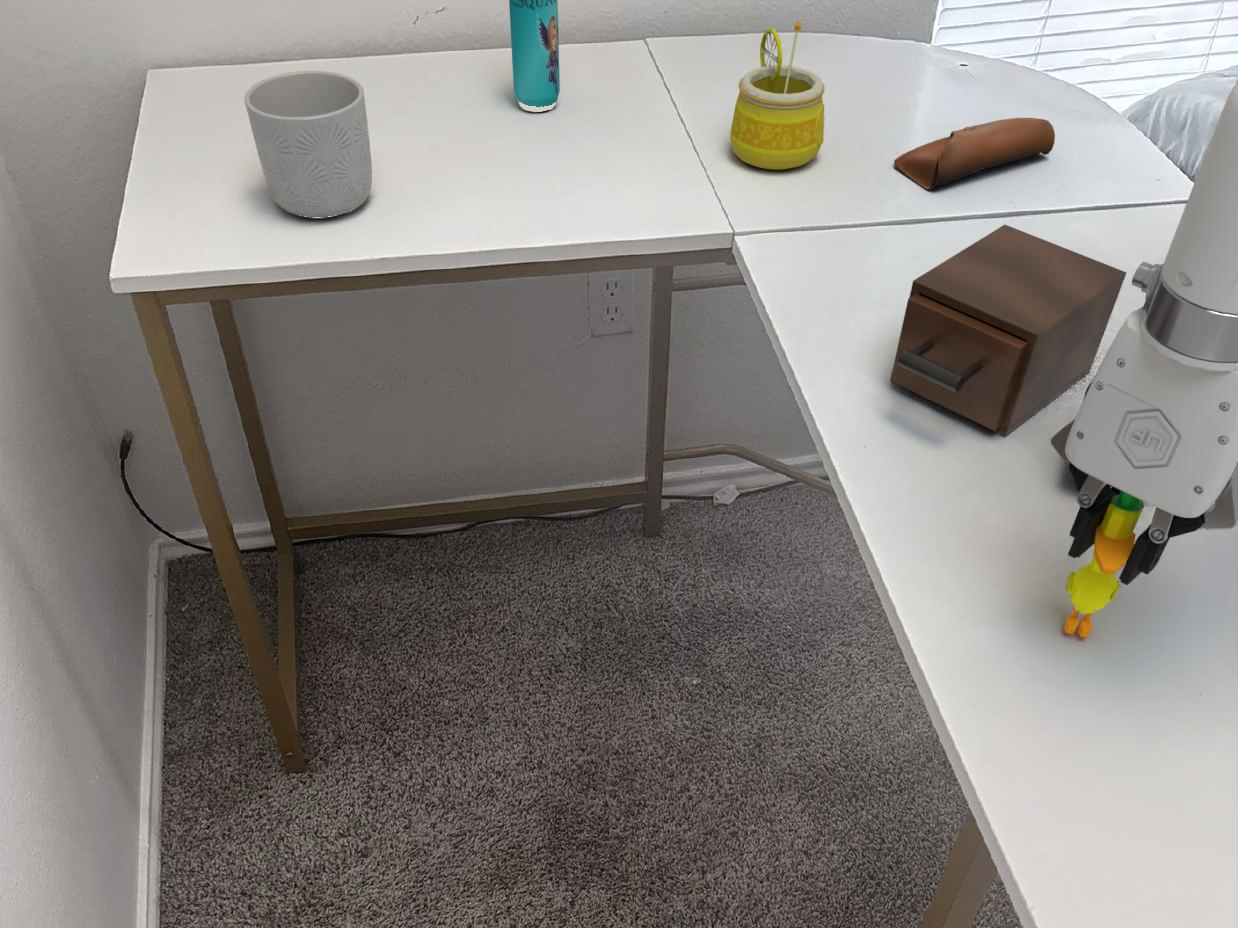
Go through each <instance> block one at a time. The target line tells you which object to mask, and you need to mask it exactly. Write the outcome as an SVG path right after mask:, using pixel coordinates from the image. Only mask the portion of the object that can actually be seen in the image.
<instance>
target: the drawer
mask: <svg viewBox="0 0 1238 928" xmlns="http://www.w3.org/2000/svg"><path fill="white" fill-rule="evenodd" d="M909 297H910V296H909ZM909 297H908V299H907V303H906V306H905V312H904V315H903V316H904V317H903V320H902V325H901V329H900V333H899V338H898V343H897V348H896V353H895V356H894V361H893V364H892V365H893V366H892V370H891V375H890V379H889V380H890V382H891V381H893V382H895V383H897V384H899V385H901V386H903V387H905V388H907V389H909V390H908V391H910V390H911V391H910V392H912V391H913V392H912V393H914V392H916V393H918V394H920V395H922V396H924V397H926V398H928V399H930V400H932V401H934V402H936V403H938V404H940V405H942V406H941V407H943V406H944V407H943V408H945V407H946V408H945V409H947V408H949V409H951V410H953V411H955V412H957V413H959V414H961V415H963V416H965V417H967V418H969V419H971V420H973V421H975V422H974V423H976V422H977V423H976V424H978V423H979V424H978V425H980V424H982V425H984V426H986V427H988V428H990V429H992V430H994V431H995V430H996V429H998V428H999V427H1000V426H1002V424H1003V420H1004V417H1005V414H1006V411H1007V408H1008V405H1009V402H1010V398H1011V395H1012V392H1013V389H1014V386H1015V383H1016V380H1017V376H1018V373H1019V370H1020V367H1021V364H1022V361H1023V358H1024V354H1025V351H1026V348H1027V345H1028V343H1027V340H1025V339H1023V338H1021V337H1018V336H1016V335H1014V334H1012V333H1009V332H1007V331H1005V330H1002V329H1000V328H998V327H996V326H993V325H991V324H989V323H987V322H984V321H982V320H980V319H977V318H975V317H973V316H971V315H968V314H966V313H964V312H961V311H959V310H957V309H955V308H952V307H950V306H948V305H946V304H943V303H941V302H939V301H936V300H934V299H932V298H930V299H927V298H925V297H923V296H921V295H918V294H915V295H913V296H911V297H910V298H909ZM893 382H892V383H893ZM895 383H894V384H895ZM897 384H896V385H897ZM899 385H898V386H899ZM901 386H900V387H901ZM903 387H902V388H903ZM905 388H904V389H905ZM907 389H906V390H907ZM916 393H915V394H916ZM918 394H917V395H918ZM920 395H919V396H920ZM922 396H921V397H922ZM924 397H923V398H924ZM926 398H925V399H926ZM928 399H927V400H928ZM930 400H929V401H930ZM932 401H931V402H932ZM934 402H933V403H934ZM936 403H935V404H936ZM938 404H937V405H938ZM940 405H939V406H940ZM949 409H948V410H949ZM951 410H950V411H951ZM953 411H952V412H953ZM955 412H954V413H955ZM957 413H956V414H957ZM959 414H958V415H959ZM961 415H960V416H961ZM963 416H962V417H963ZM965 417H964V418H965ZM967 418H966V419H967ZM969 419H968V420H969ZM971 420H970V421H971ZM973 421H972V422H973ZM982 425H981V426H982ZM984 426H983V427H984ZM986 427H985V428H986ZM988 428H987V429H988ZM990 429H989V430H990ZM992 430H991V431H992ZM994 431H993V432H994Z"/></svg>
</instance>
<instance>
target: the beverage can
mask: <svg viewBox="0 0 1238 928" xmlns="http://www.w3.org/2000/svg"><path fill="white" fill-rule="evenodd" d="M508 5H509V8H508V9H509V21H510V22H509V24H510V44H511V45H510V46H511V60H512V61H511V62H512V80H513V93H514V95H515V99H516V101H517V100H518V101H519V102H521V103H523V104H525V105H528V106H536V107H541V106H542V107H544V106H549V105H552V104H553V103H555V102H556V101H557V102H558V98H559V95H560V92H561V87H560V86H561V84H560V83H561V81H560V45H559V6H558V0H508ZM518 101H517V102H518ZM557 102H556V103H557Z"/></svg>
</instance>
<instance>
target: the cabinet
mask: <svg viewBox="0 0 1238 928" xmlns="http://www.w3.org/2000/svg"><path fill="white" fill-rule="evenodd" d="M1126 276H1127V272H1126V271H1124V270H1121V269H1119V268H1116V267H1114V266H1111V265H1109V264H1106V263H1104V262H1101V261H1099V260H1096V259H1094V258H1091V257H1089V256H1086V255H1083V254H1081V253H1078V252H1076V251H1074V250H1071V249H1068V248H1066V247H1063V246H1061V245H1058V244H1057V243H1053V242H1050V241H1048V240H1046V239H1043V238H1041V237H1037V236H1036V235H1033V234H1030V233H1028V232H1026V231H1023V230H1020V229H1018V228H1016V227H1013V226H1010V225H1007V224H1003V225H1001V226H1000V227H998V228H996V229H995V230H993V231H991V232H990V233H988V234H987V235H985V236H984V237H982V238H980V239H979V240H977V241H976V242H974V243H972V244H970V245H969V246H967V247H965V248H964V249H962V250H960V251H959V252H957V253H956V254H954V255H953V256H951V257H949V258H948V259H946V260H945V261H943V262H941V263H940V264H937V265H936V266H935V267H933V268H931V269H930V270H928V271H926V272H925V273H923V274H921V275H920V276H918V277H917V278H915V279H913V280H912V284H911V289H910V293H909V296H908V298H910V297H911V296H913V295H915V294H918V295H921V296H923V297H925V298H927V299H930V298H932V299H934V300H936V301H939V302H941V303H943V304H946V305H948V306H950V307H952V308H955V309H957V310H959V311H961V312H964V313H966V314H968V315H971V316H973V317H975V318H977V319H980V320H982V321H984V322H987V323H989V324H991V325H993V326H996V327H998V328H1000V329H1002V330H1005V331H1007V332H1009V333H1012V334H1014V335H1016V336H1018V337H1021V338H1023V339H1025V340H1027V343H1028V345H1027V348H1026V351H1025V354H1024V358H1023V361H1022V364H1021V367H1020V370H1019V373H1018V376H1017V380H1016V383H1015V386H1014V389H1013V392H1012V395H1011V398H1010V402H1009V405H1008V408H1007V411H1006V414H1005V417H1004V420H1003V424H1002V426H1000V427H999V428H998V429H996V430H995V431H994V430H992V429H990V428H988V427H986V426H984V425H982V424H979V423H977V422H975V421H973V420H971V419H969V418H967V417H965V416H963V415H961V414H959V413H957V412H955V411H953V410H951V409H949V408H946V407H944V406H942V405H940V404H938V403H936V402H934V401H932V400H930V399H928V398H926V397H924V396H922V395H920V394H918V393H916V392H913V391H911V390H909V389H907V388H905V387H903V386H901V385H899V384H897V383H895V382H893V381H891V380H890V382H891V383H893V384H895V385H897V386H899V387H901V388H903V389H905V390H908V391H909V392H912V393H914V394H916V395H918V396H920V397H922V398H924V399H926V400H928V401H931V402H932V403H934V404H936V405H939V406H941V407H943V408H945V409H947V410H948V411H951V412H953V413H955V414H957V415H959V416H961V417H963V418H965V419H967V420H970V421H971V422H973V423H975V424H977V425H980V426H982V427H984V428H985V429H988V430H990V431H992V432H994V433H996V434H999V435H1000V436H1003V437H1007V436H1008V435H1010V434H1011V433H1012V432H1013V431H1015V430H1016V429H1017V428H1019V427H1020V426H1022V425H1023V424H1024V423H1025V422H1026V421H1028V420H1030V419H1031V418H1032V417H1033V416H1034V415H1036V414H1037V413H1039V412H1040V411H1041V410H1042V409H1044V408H1045V407H1047V406H1048V405H1049V404H1050V403H1051V402H1053V401H1055V400H1056V399H1057V398H1058V397H1060V396H1061V395H1062V394H1063V393H1065V392H1066V391H1068V389H1070V388H1071V387H1073V386H1074V385H1076V384H1077V383H1078V382H1079V381H1080V380H1082V379H1083V378H1084V377H1086V376H1087V375H1088V374H1090V373H1091V369H1092V367H1093V364H1094V362H1095V359H1096V356H1097V354H1098V351H1099V349H1100V345H1101V343H1102V340H1103V338H1104V334H1105V333H1106V329H1107V327H1108V324H1109V321H1110V319H1111V316H1112V313H1113V310H1114V309H1115V306H1116V303H1117V300H1118V298H1119V295H1120V293H1121V289H1122V286H1123V283H1124V281H1125V278H1126Z"/></svg>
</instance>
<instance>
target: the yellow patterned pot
mask: <svg viewBox="0 0 1238 928" xmlns="http://www.w3.org/2000/svg"><path fill="white" fill-rule="evenodd" d="M793 27H794V31H795V33H794V37H793V44H792V47H791V53H790V59H789V64H788V65H785V64H783V47H782V42H781V38H780V35H779V34H778V32H777V30H776V29H775V28H772V27H771V28H767V29H766V30H765V31H764V33H763V35H762V38H761V41H760V47H759V60H760V61H759V62H760V67H757V68H754V69H752V70H750V71H748V72H747V73H746V74H745V75H743V77H742V78H740V80H739V82H738V89H739V92H738V95H737V98H736V102H735V105H734V111H733V116H732V121H731V128H730V137H729V141H730V145H731V149H732V151H733V153H734V154H735V155H736V156H737V157H738V159H740V160H741V161H743V162H744V163H746V164H748V165H751V166H753V167H756V168H761V169H764V170H777V171H778V170H779V171H780V170H781V171H782V170H788V169H793V168H799V167H800V166H803V165H806V164H808V163H809V162H810V161H812V160H814V159H815V157H816V156H817V154H818V152H819V151H820V149H821V147H822V145H823V144H824V139H825V138H824V137H825V136H824V135H825V134H824V133H825V122H826V121H825V120H826V117H825V103H824V101H823V95H824V93H825V88H826V87H825V84H824V82H823V81H822V79H821V77H819V76H818V75H817V74H815V72H812V71H811V70H808V69H804V68H801V67H798V66H793V61H794V56H795V51H796V45H797V41H798V35H799V32H800V30H801V29H802V23H801V21H796V23H795V24H794V26H793ZM772 36H773V40H772ZM769 40H770V46H771V47H770V49H769ZM766 44H767V48H766ZM774 44H775V45H774ZM773 48H774V49H773ZM776 49H777V55H775V54H774V53H775V50H776ZM765 55H766V56H768V58H767V60H765V59H766V58H765ZM768 62H769V63H768ZM772 62H773V65H772V64H771V63H772ZM775 63H776V65H775Z"/></svg>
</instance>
